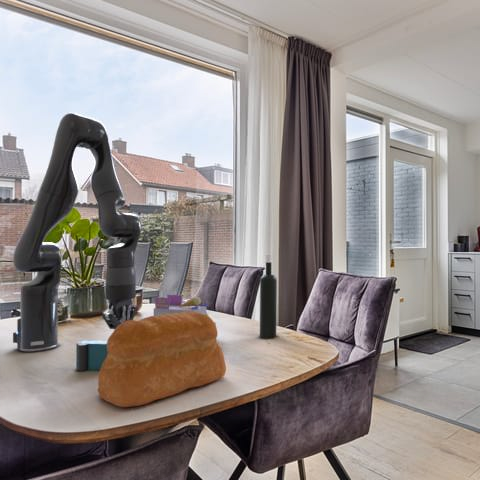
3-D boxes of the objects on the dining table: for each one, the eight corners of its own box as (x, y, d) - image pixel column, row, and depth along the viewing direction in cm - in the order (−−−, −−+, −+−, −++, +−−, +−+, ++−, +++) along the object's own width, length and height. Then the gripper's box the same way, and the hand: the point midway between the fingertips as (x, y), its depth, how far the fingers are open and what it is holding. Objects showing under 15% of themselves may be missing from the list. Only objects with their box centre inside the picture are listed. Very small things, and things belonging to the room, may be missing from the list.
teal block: (72, 371, 108) (72, 344, 108) (89, 363, 114) (89, 338, 114) (116, 372, 107) (116, 345, 107) (131, 364, 113) (131, 339, 113)
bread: (232, 378, 103) (232, 310, 103) (123, 415, 82) (124, 329, 82) (196, 366, 113) (196, 304, 112) (90, 396, 91) (90, 319, 91)
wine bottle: (277, 334, 149) (278, 252, 148) (274, 338, 143) (275, 253, 143) (261, 334, 149) (262, 252, 148) (258, 338, 143) (258, 253, 142)
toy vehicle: (202, 345, 134) (203, 299, 133) (150, 341, 138) (150, 297, 137) (218, 338, 143) (218, 295, 142) (168, 334, 147) (168, 293, 146)
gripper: (122, 279, 124) (122, 336, 125) (92, 284, 111) (92, 348, 111) (146, 280, 124) (146, 336, 124) (118, 285, 111) (118, 348, 111)
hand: (120, 342), depth 118 cm, fingers closed
